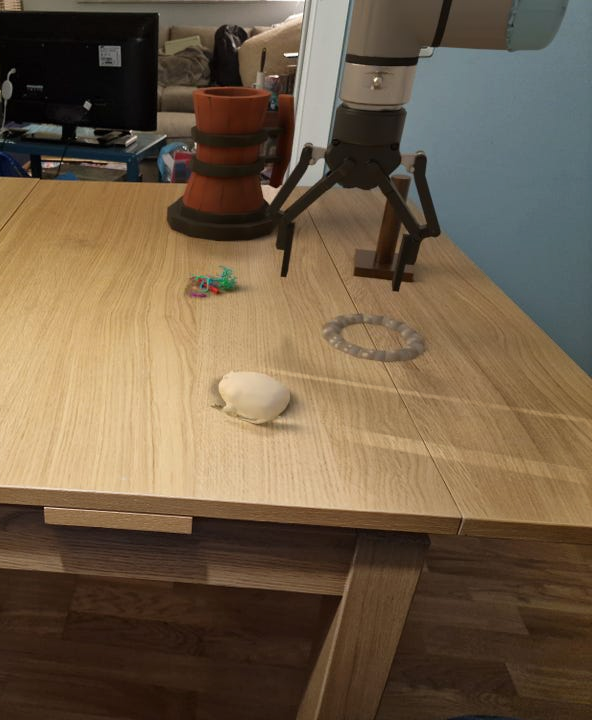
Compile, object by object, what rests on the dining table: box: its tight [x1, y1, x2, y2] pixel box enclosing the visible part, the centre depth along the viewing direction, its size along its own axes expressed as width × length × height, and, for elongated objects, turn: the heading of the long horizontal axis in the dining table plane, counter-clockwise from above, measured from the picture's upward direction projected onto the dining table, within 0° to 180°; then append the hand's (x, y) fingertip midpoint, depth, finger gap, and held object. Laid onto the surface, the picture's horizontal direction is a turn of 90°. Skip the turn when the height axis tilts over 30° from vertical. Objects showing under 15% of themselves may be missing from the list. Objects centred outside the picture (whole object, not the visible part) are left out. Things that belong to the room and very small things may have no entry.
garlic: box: [210, 370, 291, 425], centre depth 75 cm, size 8×7×4 cm
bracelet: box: [321, 312, 426, 363], centre depth 87 cm, size 13×13×2 cm
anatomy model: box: [185, 265, 238, 298], centre depth 101 cm, size 5×8×7 cm
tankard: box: [166, 86, 296, 242], centre depth 128 cm, size 22×25×25 cm
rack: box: [352, 173, 415, 283], centre depth 108 cm, size 9×9×16 cm
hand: (338, 280), depth 85 cm, fingers open, 13 cm apart
